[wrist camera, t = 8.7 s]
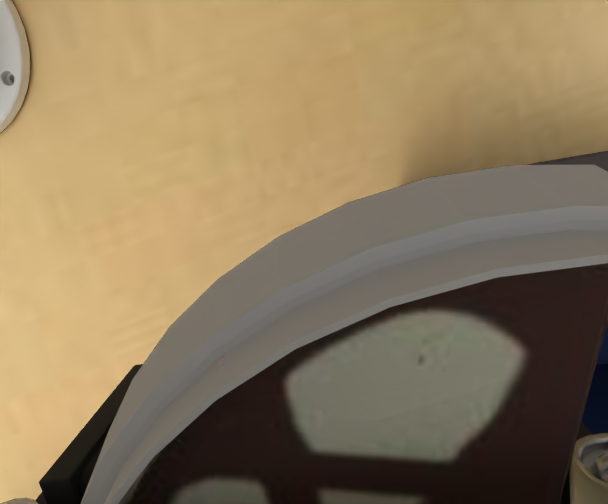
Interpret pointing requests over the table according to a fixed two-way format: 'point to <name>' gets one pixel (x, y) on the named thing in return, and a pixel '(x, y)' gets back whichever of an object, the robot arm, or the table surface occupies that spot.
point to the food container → (382, 355)
